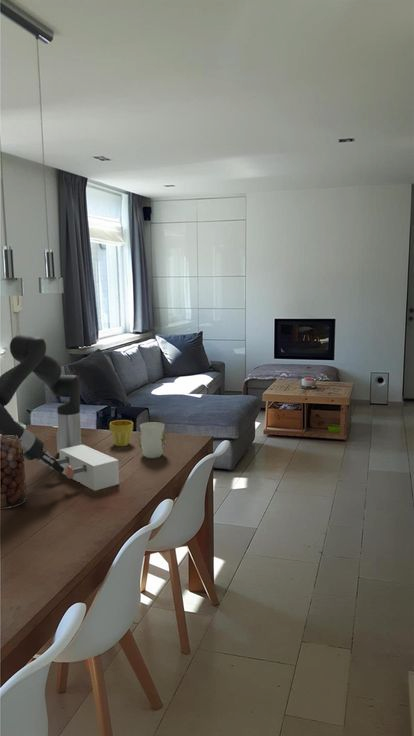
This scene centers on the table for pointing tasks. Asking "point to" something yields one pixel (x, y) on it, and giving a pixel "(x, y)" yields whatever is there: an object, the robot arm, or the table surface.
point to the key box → (91, 466)
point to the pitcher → (152, 439)
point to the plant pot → (121, 432)
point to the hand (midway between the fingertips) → (61, 470)
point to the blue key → (62, 460)
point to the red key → (74, 471)
